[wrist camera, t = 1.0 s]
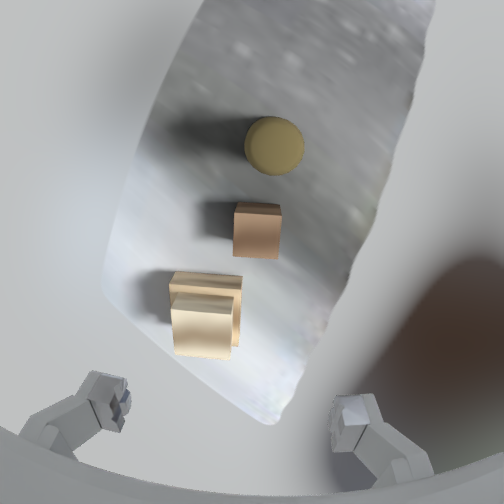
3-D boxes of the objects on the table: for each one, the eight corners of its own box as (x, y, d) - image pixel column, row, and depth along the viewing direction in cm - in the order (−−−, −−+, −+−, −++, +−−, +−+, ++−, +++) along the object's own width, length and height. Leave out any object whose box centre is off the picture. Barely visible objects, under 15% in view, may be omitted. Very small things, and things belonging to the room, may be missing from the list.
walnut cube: (238, 201, 38) (234, 212, 33) (279, 204, 38) (281, 215, 33) (236, 240, 40) (232, 256, 35) (276, 243, 39) (277, 259, 35)
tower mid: (178, 292, 38) (170, 309, 35) (234, 296, 38) (231, 314, 35) (181, 335, 41) (175, 354, 37) (232, 340, 41) (229, 360, 37)
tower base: (176, 270, 42) (168, 283, 38) (242, 274, 42) (240, 289, 38) (180, 323, 45) (173, 340, 42) (240, 329, 45) (238, 346, 42)
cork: (236, 153, 35) (225, 164, 25) (259, 107, 33) (257, 99, 23) (283, 175, 36) (291, 195, 26) (306, 130, 34) (324, 132, 24)
